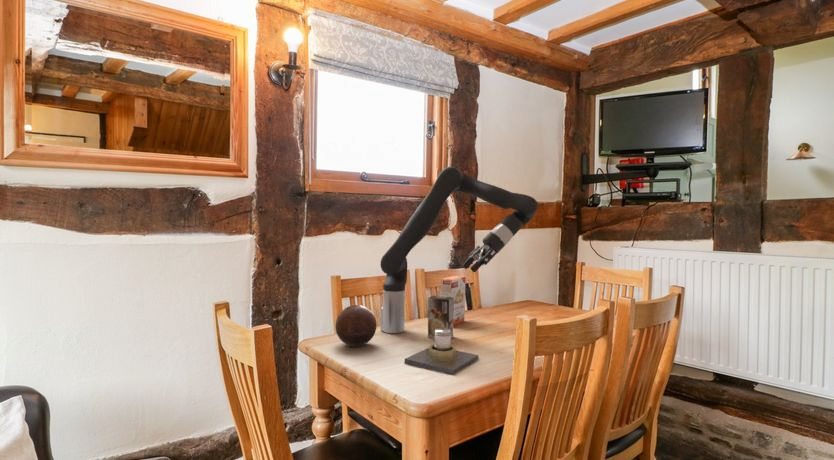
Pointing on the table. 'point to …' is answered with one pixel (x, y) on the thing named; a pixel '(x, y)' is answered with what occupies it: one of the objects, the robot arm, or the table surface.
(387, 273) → the robot arm
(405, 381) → the table surface
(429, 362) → the square base with socket
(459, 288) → the cracker box
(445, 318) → the coffee box
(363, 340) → the wooden sphere
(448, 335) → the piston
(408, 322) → the table surface
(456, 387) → the table surface
